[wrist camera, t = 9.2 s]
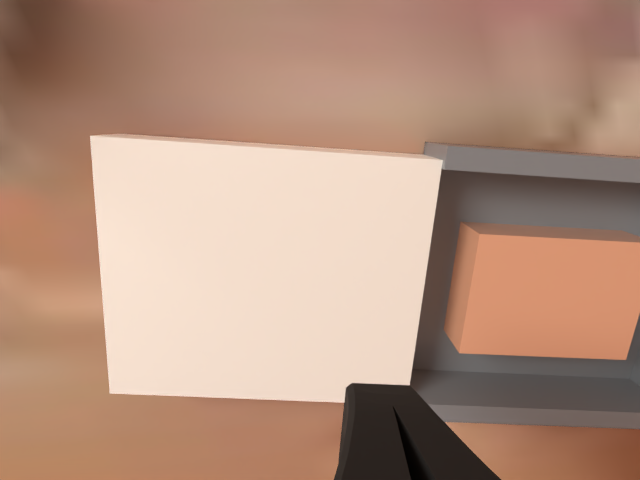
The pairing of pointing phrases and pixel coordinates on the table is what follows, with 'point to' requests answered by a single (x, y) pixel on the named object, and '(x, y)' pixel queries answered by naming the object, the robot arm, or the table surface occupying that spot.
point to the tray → (536, 210)
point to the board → (259, 265)
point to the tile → (544, 291)
